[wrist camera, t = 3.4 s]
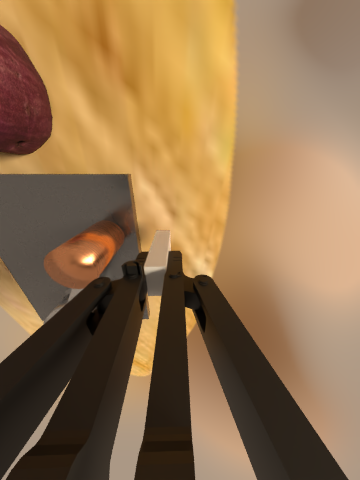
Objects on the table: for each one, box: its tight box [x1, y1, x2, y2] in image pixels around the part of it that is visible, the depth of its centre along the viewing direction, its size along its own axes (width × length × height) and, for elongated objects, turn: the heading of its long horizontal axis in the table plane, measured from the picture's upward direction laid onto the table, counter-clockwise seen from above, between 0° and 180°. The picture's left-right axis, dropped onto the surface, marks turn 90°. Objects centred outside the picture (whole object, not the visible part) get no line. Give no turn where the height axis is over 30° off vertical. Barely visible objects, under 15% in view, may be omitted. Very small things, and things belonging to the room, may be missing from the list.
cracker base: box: [0, 174, 150, 321], centre depth 19 cm, size 25×20×7 cm
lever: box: [44, 220, 124, 324], centre depth 18 cm, size 22×5×7 cm, turn 150°
